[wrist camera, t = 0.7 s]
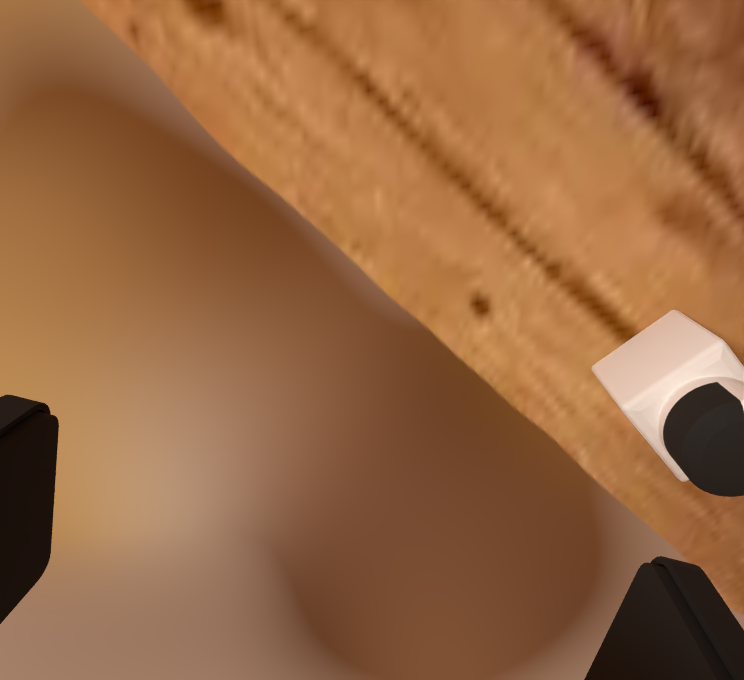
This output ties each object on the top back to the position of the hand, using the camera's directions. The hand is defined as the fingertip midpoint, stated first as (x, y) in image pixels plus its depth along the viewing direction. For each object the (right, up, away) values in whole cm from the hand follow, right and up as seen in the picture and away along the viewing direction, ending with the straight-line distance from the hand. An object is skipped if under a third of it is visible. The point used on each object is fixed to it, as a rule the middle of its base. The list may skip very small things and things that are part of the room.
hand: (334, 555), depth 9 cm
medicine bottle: (+22, +1, +33) cm, 40 cm away
